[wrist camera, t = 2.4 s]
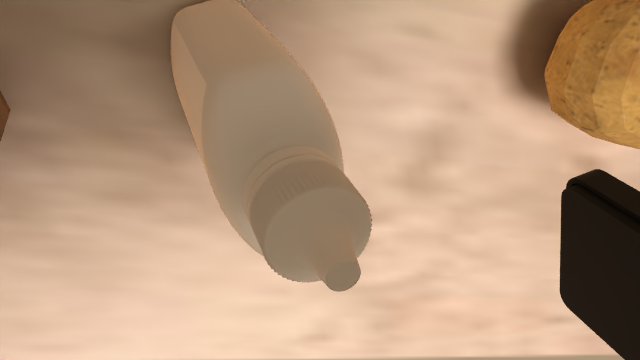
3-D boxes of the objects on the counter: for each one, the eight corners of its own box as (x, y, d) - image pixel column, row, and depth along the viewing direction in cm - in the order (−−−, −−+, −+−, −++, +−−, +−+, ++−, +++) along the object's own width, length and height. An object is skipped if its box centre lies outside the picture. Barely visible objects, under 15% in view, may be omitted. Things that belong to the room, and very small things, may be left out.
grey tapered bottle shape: (145, 138, 21) (195, 390, 11) (178, -19, 19) (276, 119, 9) (260, 156, 23) (390, 386, 13) (301, 14, 21) (494, 159, 11)
